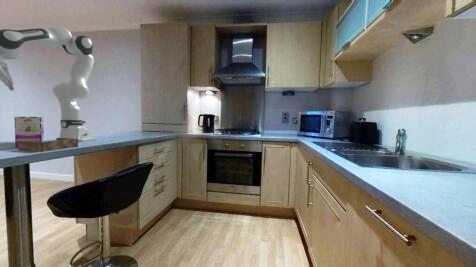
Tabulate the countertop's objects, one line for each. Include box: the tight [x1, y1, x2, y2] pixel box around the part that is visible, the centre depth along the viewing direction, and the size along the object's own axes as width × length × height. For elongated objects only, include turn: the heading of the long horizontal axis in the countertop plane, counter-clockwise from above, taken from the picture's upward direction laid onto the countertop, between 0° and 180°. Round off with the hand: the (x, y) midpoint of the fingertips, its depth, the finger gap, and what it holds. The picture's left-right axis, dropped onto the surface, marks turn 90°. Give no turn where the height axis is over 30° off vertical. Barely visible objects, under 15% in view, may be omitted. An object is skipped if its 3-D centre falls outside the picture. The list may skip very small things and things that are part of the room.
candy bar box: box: [14, 116, 45, 148], centre depth 128 cm, size 11×5×16 cm, turn 117°
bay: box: [18, 137, 79, 152], centre depth 126 cm, size 21×13×4 cm, turn 170°
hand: (9, 87), depth 126 cm, fingers open, 8 cm apart
